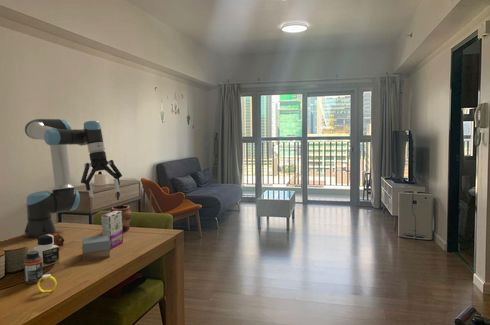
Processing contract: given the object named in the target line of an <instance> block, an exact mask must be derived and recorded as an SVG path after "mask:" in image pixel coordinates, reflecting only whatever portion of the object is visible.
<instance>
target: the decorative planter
mask: <svg viewBox="0 0 490 325" xmlns="http://www.w3.org/2000/svg"><path fill="white" fill-rule="evenodd" d="M112 211H122V228H123V232H125V231H128V230H130V228H131V227H130V222H131V220H132V212H131V209H130V205H125V204H122V205H115V206H112V207H111V209H110V212H112ZM110 212H109V213H110Z"/></svg>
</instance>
